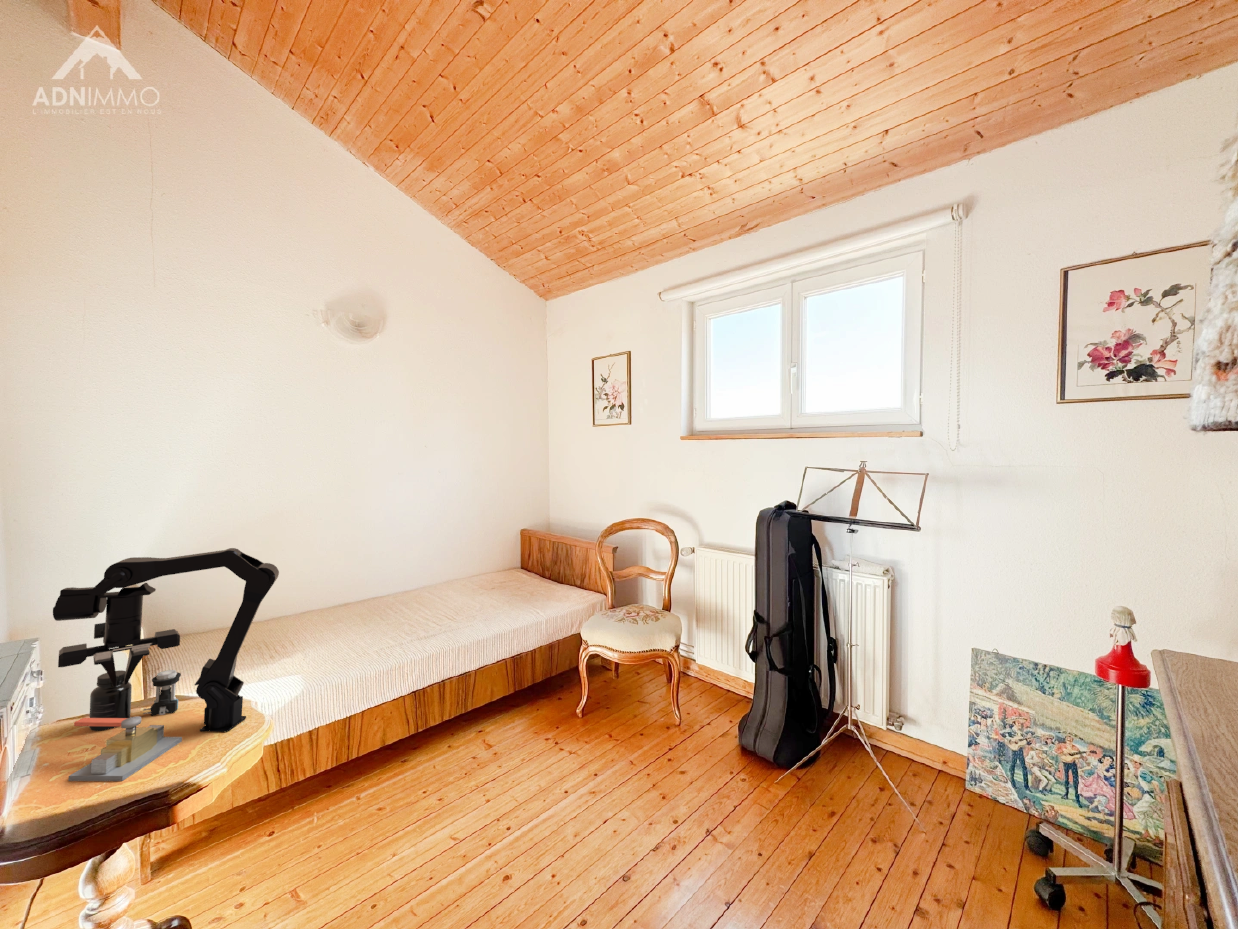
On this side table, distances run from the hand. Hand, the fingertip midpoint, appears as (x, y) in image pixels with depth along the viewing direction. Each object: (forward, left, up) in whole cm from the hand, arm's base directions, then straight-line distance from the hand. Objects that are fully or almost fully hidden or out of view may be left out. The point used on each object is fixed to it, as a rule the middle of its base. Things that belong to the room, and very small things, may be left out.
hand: (120, 685), depth 108 cm
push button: (+2, -13, -13) cm, 19 cm away
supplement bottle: (+9, -8, -13) cm, 18 cm away
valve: (-8, +6, -13) cm, 16 cm away
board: (-8, +6, -13) cm, 16 cm away
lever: (-4, +6, -6) cm, 9 cm away
